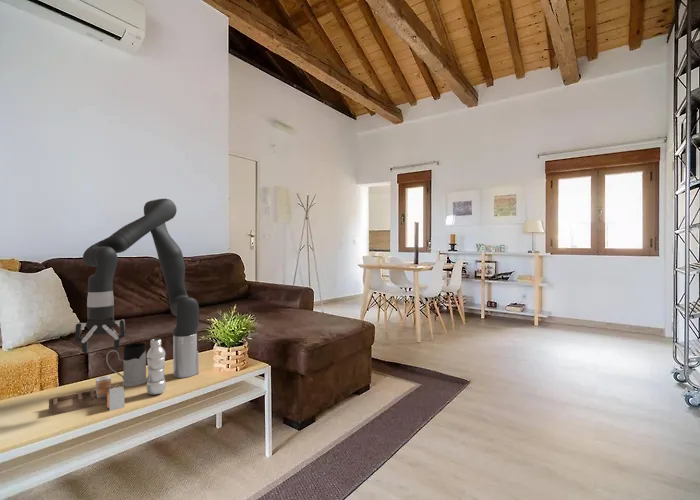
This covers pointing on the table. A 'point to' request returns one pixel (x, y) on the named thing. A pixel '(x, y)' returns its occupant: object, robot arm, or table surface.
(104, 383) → the brown wooden rack
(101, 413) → the table surface
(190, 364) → the robot arm
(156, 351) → the plastic bottle
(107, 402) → the wood-topped grey cube
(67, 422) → the table surface
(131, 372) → the glass holder
